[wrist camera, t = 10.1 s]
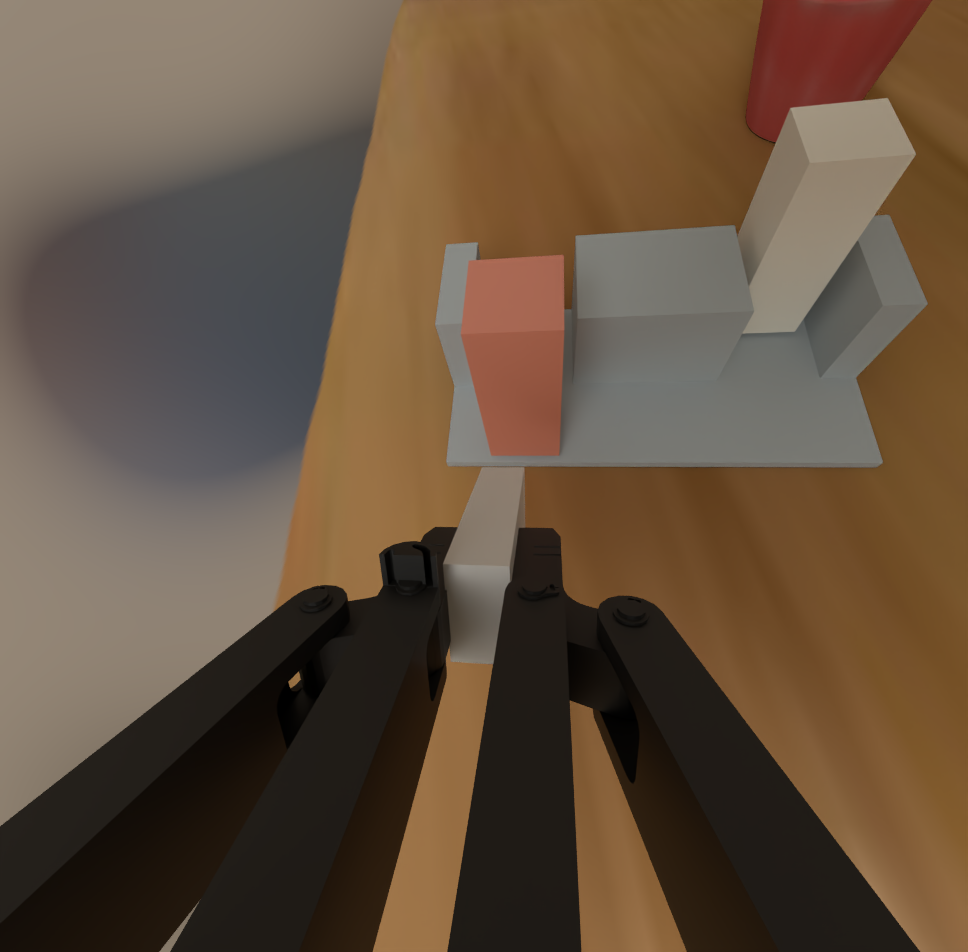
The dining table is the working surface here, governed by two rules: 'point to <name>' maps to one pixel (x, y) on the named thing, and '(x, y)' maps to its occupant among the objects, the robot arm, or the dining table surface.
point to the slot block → (698, 356)
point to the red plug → (516, 351)
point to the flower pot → (822, 54)
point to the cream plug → (817, 203)
